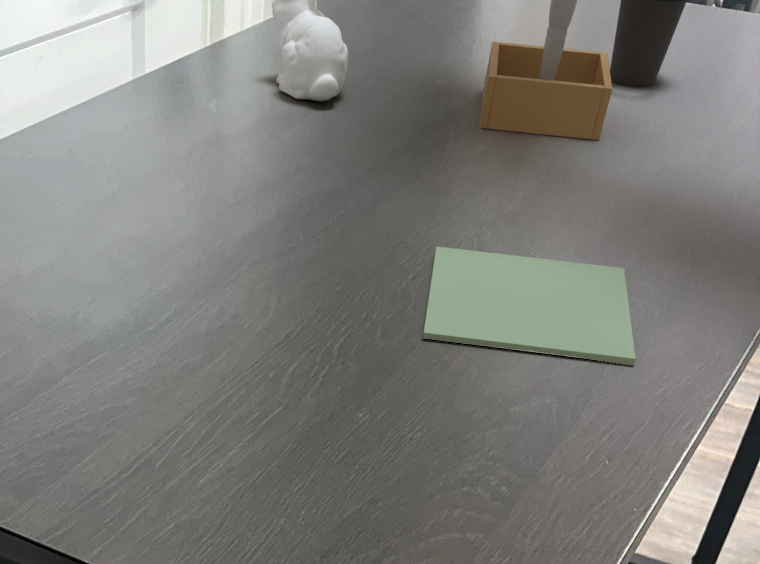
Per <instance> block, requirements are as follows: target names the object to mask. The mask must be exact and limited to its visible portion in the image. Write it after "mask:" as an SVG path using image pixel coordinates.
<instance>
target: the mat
mask: <svg viewBox="0 0 760 564" xmlns="http://www.w3.org/2000/svg"><path fill="white" fill-rule="evenodd" d="M626 280H627V279H626V271H625V267H618V266H610V265H609V266H608V265H600V264H593V263H592V264H590V263H583V262H573V261H566V260H565V261H564V260H556V259H547V258H539V257H533V256H532V257H530V256H522V255H514V254H513V255H512V254H507V253H506V254H505V253H497V252H487V251H479V250H470V249H462V248H455V247H454V248H453V247H443V246H436V247H435V252H434V258H433V265H432V272H431V278H430V285H429V291H428V297H427V298H428V299H427V305H426V311H425V319H424V325H423V332H422V338H423V339H433V340H440V341H448V342H455V343H462V344H461V345H463V344H476V345H484V346H495V347H504V348H509V349H521V350H533V351H537V352H544V353H549V354H551V353H554V354H560V355H568V356H576V357H580V358H581V357H582V358H585V359H591V360H598V361H597V362H599V361H601V363H607V362H609V363H610V364H615V363H616V365H625V366H631V367H633V366H634V365H635V363H636V351H635V342H634V336H633V326H632V320H631V319H632V318H631V311H630V303H629V295H628V287H627V281H626ZM423 339H422V340H423ZM455 343H454V344H455ZM591 360H590V361H591ZM603 361H605V362H603ZM612 362H613V363H612ZM619 363H620V364H619Z"/></svg>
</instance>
